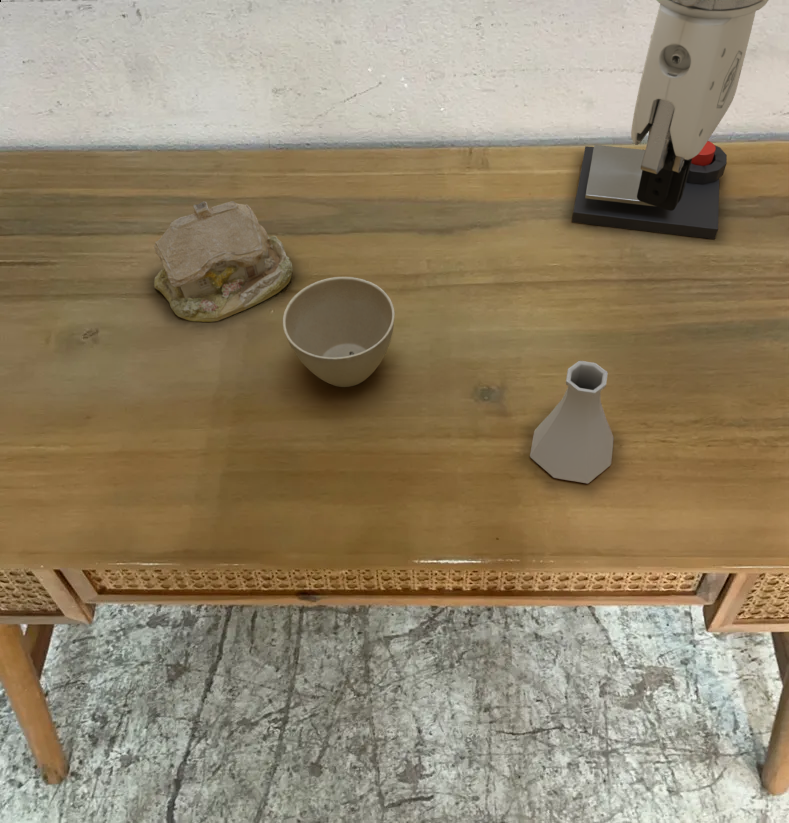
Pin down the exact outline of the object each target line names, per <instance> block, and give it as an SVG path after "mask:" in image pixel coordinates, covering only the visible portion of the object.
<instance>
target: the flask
mask: <svg viewBox="0 0 789 823" xmlns="http://www.w3.org/2000/svg"><path fill="white" fill-rule="evenodd" d="M607 380H608V371H607V370H606V369H604V368H603V367H602V366H600V365H599V364H598V363H597V362H593V361H592V362H591V361H585V360H578V361H576V362H575V363H573V364H572V365H571V366H570V367H568V368H567V372H566V378H565V386H567V388H566V390H565V391H564V394H563V396H562V398H561V399H560V400H559V402H558V403H557V404H556V405H555V407H554V408H553V409H552V410H551V412H549V414H548V415H546V417H545V418H544V419H543V420H542V421H541V422H540V423H539V425H538V426H537V427H536V428H535V429H534V431H533V436H532V442H531V448H530V453H529V458H530V459H532V460H533V462H535V463H536V464H537V465H538V466H540V467H541V469H543V470H544V471H546V472H547V474H548V475H550V476H551V477H552V478H554V479H559V480H565V481H571V482H577V483H583V484H590V482H593V480H594V479H595V478H597V477H598V476H599V475H600V474H602V473H603V472H604V471H606V470H607V469H608V468H609V467H610V466H612V460H613V450H614V440H615V438H614V434H613V431H612V429H611V427H610V424H609V421H608V419H607V417H606V413H605V411H604V407H603V403H602V396H601V393H602V391H603V390H604V389H605V388H607Z"/></svg>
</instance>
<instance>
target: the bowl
mask: <svg viewBox="0 0 789 823" xmlns="http://www.w3.org/2000/svg"><path fill="white" fill-rule="evenodd" d="M289 300H290V301H289V302H288V303H287V305H286V306H285V309H284V312H283V316H282V329H283V332H284V335H285V338H286V339H287V342H288V344H289V346H290V347H291V349H292V351H293V352H294V353H295V355H296V357H297V358H298V359H299V361H300V362H301V364H303V366H305V368H307V369H308V371H310V372H311V373H312V374H313V375H314V376H316V377H317V378H318V379H319V380H321V381H323V382H325V383H328V384H330V385H332V386H333V387H339V388H351V387H354V386H357V385H360V384H362V383H363V382H364V381H366V380H368V378H369V377H370V376H372V375H373V373H374V372H375V371H376V369H377V368H378V367H379V366H380V364H381V362H382V361H383V359H384V357H385V355H386V354H387V350H388V348H389V346H390V343H391V339H392V336H393V332H394V326H395V315H396V314H395V306H394V304H393V301H392V299H391V297H390V295H389V294H388V293H387V292H386V291H385V290H384V289H383V288H381V287H380V286H379V285H377V284H376V283H374V282H372V281H369V280H367V279H364V278H360V277H355V276H333V277H328V278H324V279H321V280H317V281H314V282H313V283H311V284H308V285H307V286H305V287H304V288H302V289H301V290H299V291H298V292H297V293H295V294H294V296H293V297H292V298H291V299H289Z"/></svg>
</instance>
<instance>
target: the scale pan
mask: <svg viewBox="0 0 789 823" xmlns="http://www.w3.org/2000/svg"><path fill="white" fill-rule="evenodd" d="M593 147H594V150H593V156H592V161H591V167H590V173H589V179H588V185H587V190H586V196H585V198H586V199H595V200H604V201H612V202H621V203H630V204H638V205H647V206H654V205H650V204H647V203H644V202H641V201H639V200H638V199H637V193H638V188H639V184H640V179H641V175H642V170H641V164H642V160H643V157H644V153H645V149H641V148H630V147H620V146H611V145H603V144H594V145H593ZM656 207H657V206H656Z"/></svg>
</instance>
